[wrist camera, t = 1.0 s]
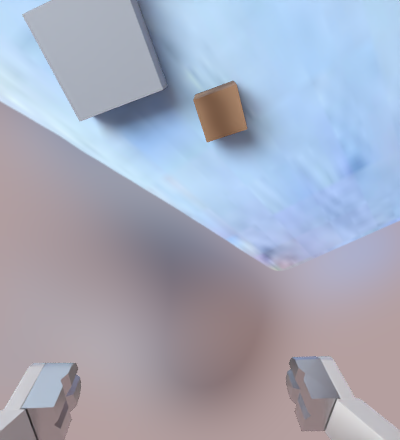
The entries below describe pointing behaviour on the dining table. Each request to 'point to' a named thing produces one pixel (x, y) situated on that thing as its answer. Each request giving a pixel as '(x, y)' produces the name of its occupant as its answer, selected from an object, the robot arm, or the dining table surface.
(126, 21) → the plinth
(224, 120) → the walnut cube
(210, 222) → the dining table surface
